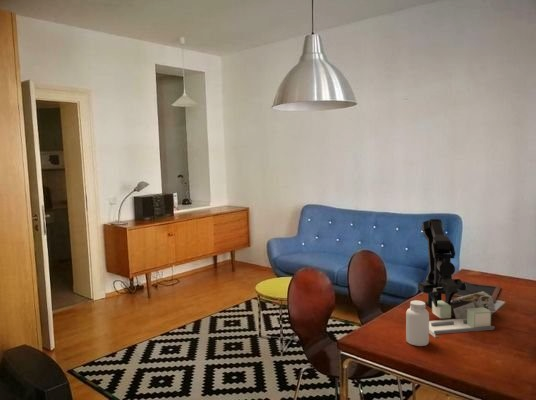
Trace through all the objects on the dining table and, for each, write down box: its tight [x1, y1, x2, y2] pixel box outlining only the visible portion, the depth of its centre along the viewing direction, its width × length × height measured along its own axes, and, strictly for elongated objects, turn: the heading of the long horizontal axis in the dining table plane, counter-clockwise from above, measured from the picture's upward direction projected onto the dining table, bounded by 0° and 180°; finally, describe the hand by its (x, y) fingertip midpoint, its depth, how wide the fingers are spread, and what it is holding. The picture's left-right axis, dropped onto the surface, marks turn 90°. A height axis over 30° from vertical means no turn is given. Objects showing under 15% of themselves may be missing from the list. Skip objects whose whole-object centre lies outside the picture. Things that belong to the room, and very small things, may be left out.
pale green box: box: [431, 299, 452, 320], centre depth 176 cm, size 5×7×6 cm, turn 7°
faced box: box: [467, 307, 492, 328], centre depth 164 cm, size 5×7×6 cm, turn 97°
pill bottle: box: [405, 300, 430, 347], centre depth 154 cm, size 8×8×15 cm
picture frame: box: [452, 280, 501, 304], centre depth 208 cm, size 20×2×25 cm
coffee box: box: [449, 292, 496, 319], centre depth 175 cm, size 9×6×16 cm
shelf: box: [429, 318, 496, 339], centre depth 165 cm, size 12×24×3 cm, turn 97°
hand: (441, 306), depth 175 cm, fingers closed on pale green box, 5 cm apart
